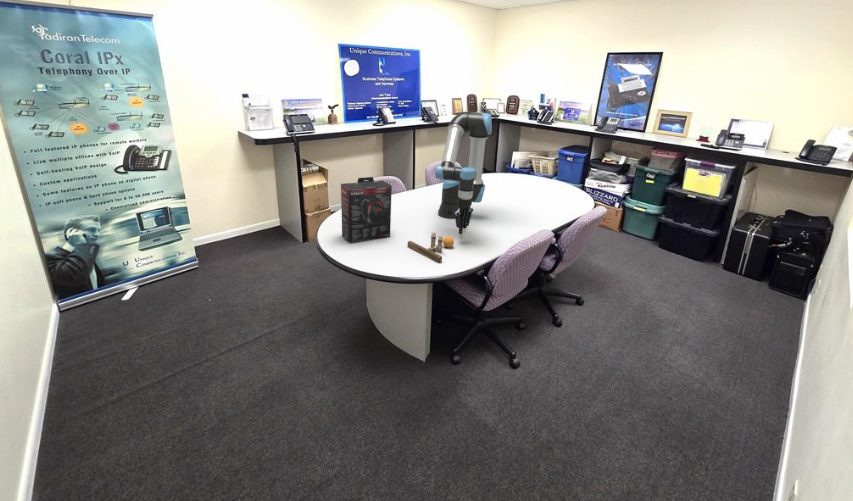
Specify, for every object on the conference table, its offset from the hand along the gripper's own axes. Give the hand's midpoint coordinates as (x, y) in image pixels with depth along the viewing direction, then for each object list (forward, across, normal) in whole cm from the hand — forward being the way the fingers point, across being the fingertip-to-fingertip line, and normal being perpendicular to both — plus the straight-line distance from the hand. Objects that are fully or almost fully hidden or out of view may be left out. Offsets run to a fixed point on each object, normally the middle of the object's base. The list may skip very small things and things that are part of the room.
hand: (461, 238), depth 228 cm
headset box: (+2, -38, +36) cm, 52 cm away
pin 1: (+2, -19, +3) cm, 19 cm away
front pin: (+1, -15, 0) cm, 15 cm away
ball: (-1, -11, -1) cm, 11 cm away
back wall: (+2, -28, 0) cm, 28 cm away
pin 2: (+2, -19, -2) cm, 19 cm away
